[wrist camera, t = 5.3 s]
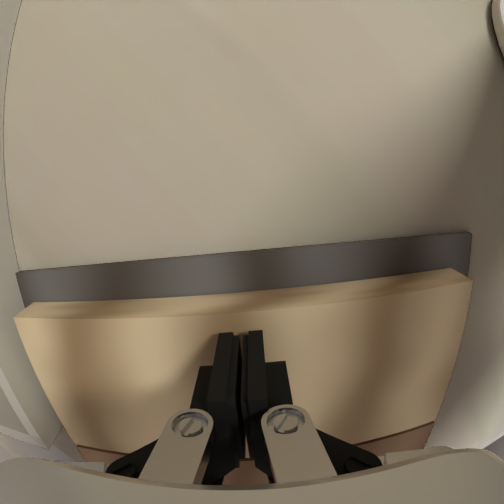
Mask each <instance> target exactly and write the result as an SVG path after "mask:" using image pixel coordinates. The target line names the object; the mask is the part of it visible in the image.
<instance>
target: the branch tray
mask: <svg viewBox="0 0 504 504" xmlns="http://www.w3.org/2000/svg"><path fill="white" fill-rule="evenodd" d="M21 1H22V0H0V432H1V433H3V434H5V435H8V436H10V437H13V438H16V439H18V440H21V441H23V442H26V443H29V444H32V445H35V446H38V447H41V448H44V449H47V450H49V448H50V446H51V445H52V443H53V441H54V440H55V438H56V436H57V435H58V433H59V431H60V430H61V428H62V427H63V424H62V423H61V421H60V419H59V417H58V416H57V414H56V412H55V410H54V409H53V407H52V405H51V403H50V401H49V399H48V397H47V395H46V393H45V392H44V390H43V388H42V386H41V384H40V381H39V379H38V377H37V375H36V373H35V371H34V369H33V366H32V364H31V362H30V360H29V357H28V355H27V353H26V350H25V348H24V345H23V343H22V340H21V338H20V335H19V332H18V330H17V327H16V324H15V321H14V318H13V317H14V316H16V315H17V314H18V313H20V312H21V311H22V310H24V309H25V307H24V303H23V300H22V297H21V293H20V289H19V286H18V282H17V278H16V274H15V273H17V272H19V267H18V263H17V259H16V254H15V249H14V244H13V239H12V233H11V227H10V221H9V214H8V206H7V198H6V188H5V176H4V158H3V116H4V98H5V86H6V77H7V69H8V61H9V55H10V49H11V43H12V38H13V33H14V29H15V24H16V20H17V16H18V12H19V8H20V4H21Z"/></svg>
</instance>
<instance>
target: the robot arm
mask: <svg viewBox="0 0 504 504" xmlns="http://www.w3.org/2000/svg"><path fill="white" fill-rule="evenodd" d="M492 19H493V24H494V30H495V33H496V36H497V40H498V43H499V47H500V49H501V52H502V55H503V58H504V0H493V2H492ZM246 439H247V445H248V451H249V457H250V459H254V461H255V467H256V468H257V469H259V470H260V471H262V472H263V473H265V474H267V480H268V484H259V485H227V482H228V473H230V472H231V471H232V470H234V469H235V468H240V460H244V459H245V455H246ZM0 504H504V461H503V460H501V459H500V458H499V457H498V456H497V455H495V454H494V453H492V452H490V451H487V450H483V449H473V448H466V449H452V448H449V447H446V446H438V447H432V448H426V449H419V450H411V451H402V452H391V453H386V454H385V456H378V457H377V456H376V455H375V454H373V453H371V452H369V451H367V450H364V449H362V448H359V447H357V446H354V445H352V444H350V443H347V442H345V441H343V440H340V439H338V438H336V437H334V436H331V435H329V434H327V433H325V432H323V431H320V430H318V429H316V428H315V426H314V424H313V422H312V420H311V417H310V415H309V414H308V413H307V411H306V410H304V409H303V408H301V407H299V406H296V405H293V401H292V395H291V389H290V384H289V378H288V372H287V366H286V361H275V362H265V354H264V342H263V330H254V331H248V335H243V350H242V354H241V347H240V339H239V335H235V336H234V333H233V332H224V333H219V334H218V340H217V345H216V350H215V356H214V361H213V365H211V366H200V368H199V371H198V375H197V379H196V383H195V388H194V392H193V396H192V400H191V405H190V409H185V410H182V411H179V412H177V413H175V414H174V415H172V416H171V417H170V419H169V420H168V422H167V424H166V425H165V427H164V429H163V431H162V433H161V435H160V437H159V439H157V440H155V441H153V442H151V443H149V444H147V445H145V446H143V447H141V448H140V449H138V450H136V451H134V452H132V453H130V454H128V455H125V456H123V457H121V458H119V459H117V460H115V461H114V462H112V463H111V464H110V465H106V464H105V462H75V461H60V460H59V461H49V460H44V459H33V458H16V459H10V460H6V461H4V462H2V463H0Z"/></svg>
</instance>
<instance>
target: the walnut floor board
mask: <svg viewBox="0 0 504 504" xmlns="http://www.w3.org/2000/svg"><path fill="white" fill-rule="evenodd" d="M471 239H472V233H470V232H459V233H447V234H435V235H424V236H412V237H400V238H389V239H377V240H365V241H354V242H342V243H331V244H319V245H307V246H296V247H285V248H273V249H262V250H250V251H239V252H227V253H216V254H205V255H193V256H182V257H171V258H160V259H148V260H137V261H126V262H115V263H104V264H92V265H81V266H70V267H59V268H48V269H37V270H26V271H19V272H17V273H15V274H16V278H17V282H18V286H19V289H20V293H21V297H22V300H23V303H24V307H25V308H26V307H28V306H29V305H31V304H32V303H33V302H75V301H106V300H129V299H149V298H167V297H183V296H198V295H212V294H225V293H238V292H250V291H261V290H272V289H283V288H293V287H303V286H313V285H322V284H331V283H340V282H349V281H357V280H365V279H373V278H381V277H389V276H397V275H404V274H411V273H418V272H425V271H432V270H439V269H445V268H452V269H454V270H456V271H457V272H459V273H461V274H463V275H464V276H466V277H468V271H469V262H470V252H471ZM433 425H434V422H433V421H432V422H429V423H426V424H423V425H420V426H417V427H414V428H411V429H408V430H405V431H401V432H398V433H395V434H391V435H388V436H384V437H380V438H376V439H372V440H368V441H364V442H360V443H355V444H352V445H354V446H357V447H359V448H362V449H364V450H367V451H369V452H371V453H373V454H375V455H376V456H377V457H378V456H385V454H386V453H391V452H402V451H411V450H419V449H424V446H425V444H426V442H427V440H428V437H429V435H430V433H431V430H432V428H433ZM77 448H78V450H79V451H80V453H81V454H82V456H83V457H84V459H85V460H86V461H87V462H105V464H106V465H110V464H111V463H112V462H114V461H115V460H117V459H119V458H121V457H123V456H125V455H128V454H130V453H122V452H116V451H109V450H104V449H98V448H93V447H88V446H83V445H77ZM259 484H268V480H267V474H265V473H263V472H262V471H260V470H259V469H257V468H256V467H255V461H254V459H250V458H245V459H244V460H240V468H235V469H234V470H232V471H231V472H230V473H228V482H227V485H259Z"/></svg>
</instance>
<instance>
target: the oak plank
mask: <svg viewBox="0 0 504 504" xmlns="http://www.w3.org/2000/svg"><path fill="white" fill-rule="evenodd" d="M472 286H473V280H472V279H470V278H468V277H466V276H464V275H463V274H461V273H459V272H457V271H456V270H454V269H452V268H445V269H439V270H432V271H425V272H418V273H411V274H404V275H397V276H389V277H381V278H373V279H365V280H357V281H349V282H340V283H331V284H322V285H313V286H303V287H293V288H283V289H272V290H261V291H250V292H238V293H225V294H212V295H198V296H183V297H167V298H149V299H129V300H106V301H75V302H33V303H32V304H31V305H29V306H28V307H26V308H25V309H24V310H22V311H21V312H20V313H18V314H17V315H16V316H14V317H13V318H14V321H15V324H16V327H17V330H18V332H19V335H20V338H21V340H22V343H23V345H24V348H25V350H26V353H27V355H28V357H29V360H30V362H31V364H32V366H33V369H34V371H35V373H36V375H37V377H38V379H39V381H40V384H41V386H42V388H43V390H44V392H45V393H46V395H47V397H48V399H49V401H50V403H51V405H52V407H53V409H54V410H55V412H56V414H57V416H58V417H59V419H60V421H61V423H62V424H63V426H64V428H65V429H66V431H67V432H68V434H69V436H70V437H71V439H72V440H73V442H74V443H75V444H78V445H83V446H88V447H93V448H98V449H104V450H109V451H116V452H122V453H132V452H134V451H136V450H138V449H140V448H141V447H143V446H145V445H147V444H149V443H151V442H153V441H155V440H157V439H159V437H160V435H161V433H162V431H163V429H164V427H165V425H166V424H167V422H168V420H169V419H170V417H171V416H172V415H174V414H175V413H177V412H179V411H182V410H185V409H190V405H191V400H192V396H193V392H194V388H195V383H196V379H197V375H198V371H199V368H200V366H211V365H213V361H214V356H215V350H216V345H217V340H218V334H219V333H224V332H233V333H234V336H235V335H239V339H240V347H241V354H242V350H243V335H248V331H254V330H263V342H264V354H265V362H275V361H286V366H287V372H288V378H289V384H290V389H291V395H292V401H293V405H296V406H299V407H301V408H303V409H304V410H306V411H307V413H308V414H309V415H310V417H311V420H312V422H313V424H314V426H315V428H316V429H318V430H320V431H323V432H325V433H327V434H329V435H331V436H334V437H336V438H338V439H340V440H343V441H345V442H347V443H350V444H355V443H360V442H364V441H368V440H372V439H376V438H380V437H384V436H388V435H391V434H395V433H398V432H401V431H405V430H408V429H411V428H414V427H417V426H420V425H423V424H426V423H429V422H432V421H434V420H436V418H437V415H438V413H439V410H440V408H441V405H442V402H443V400H444V397H445V394H446V391H447V388H448V385H449V382H450V379H451V376H452V373H453V369H454V366H455V363H456V359H457V356H458V352H459V348H460V344H461V340H462V336H463V332H464V328H465V323H466V319H467V314H468V309H469V304H470V298H471V292H472ZM245 458H250V457H249V451H248V445H247V439H246V455H245Z"/></svg>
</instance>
